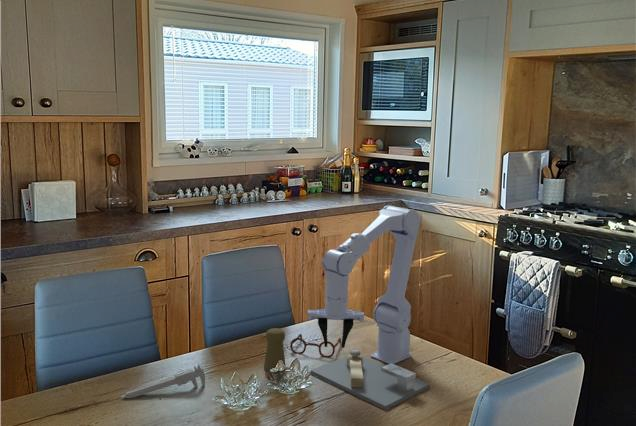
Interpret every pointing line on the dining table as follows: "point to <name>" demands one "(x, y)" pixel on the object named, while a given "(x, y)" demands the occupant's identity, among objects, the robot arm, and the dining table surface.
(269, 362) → the cork
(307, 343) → the glasses
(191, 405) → the dining table surface
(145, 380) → the dining table surface
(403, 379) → the block
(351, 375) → the wooden link
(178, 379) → the caliper
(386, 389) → the charcoal board
